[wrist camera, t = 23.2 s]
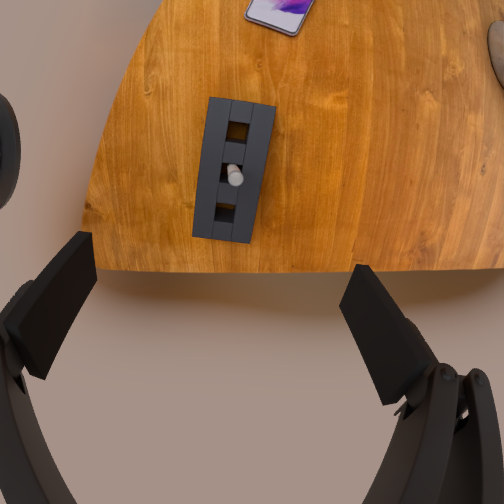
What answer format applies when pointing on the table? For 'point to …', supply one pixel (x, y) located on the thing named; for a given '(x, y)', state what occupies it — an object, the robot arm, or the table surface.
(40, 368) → the robot arm
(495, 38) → the bowl
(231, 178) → the stylus
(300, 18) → the smartphone
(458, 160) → the table surface
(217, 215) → the pen stand
